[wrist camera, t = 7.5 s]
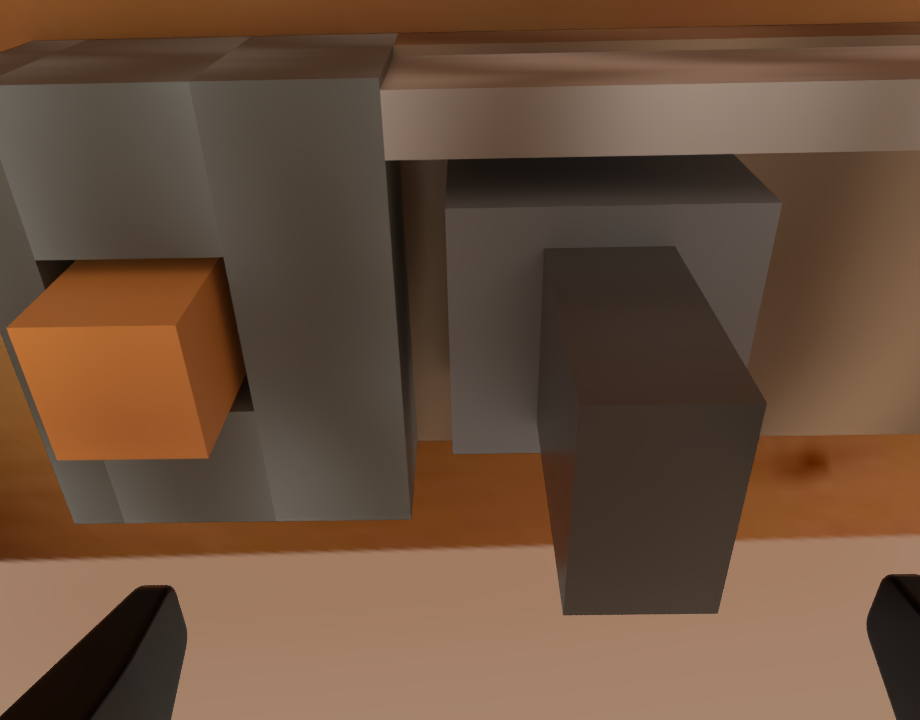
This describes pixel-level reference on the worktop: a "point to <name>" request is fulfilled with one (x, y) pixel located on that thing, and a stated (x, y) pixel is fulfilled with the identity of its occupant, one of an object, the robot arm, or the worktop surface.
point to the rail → (443, 222)
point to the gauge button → (132, 358)
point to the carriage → (615, 358)
